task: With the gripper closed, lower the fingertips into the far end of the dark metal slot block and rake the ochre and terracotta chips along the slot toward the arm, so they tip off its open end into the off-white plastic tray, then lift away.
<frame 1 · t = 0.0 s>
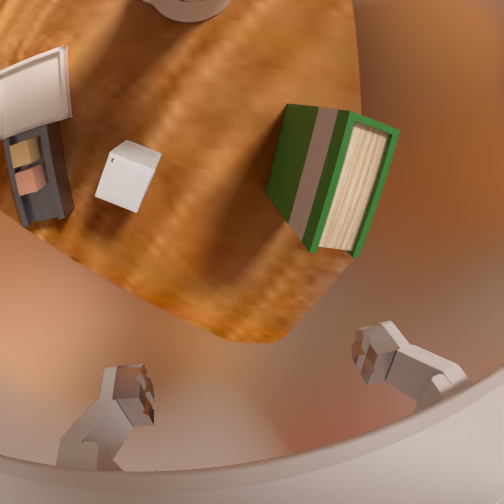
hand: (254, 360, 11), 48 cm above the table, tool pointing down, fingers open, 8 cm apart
hardback book: (294, 152, 56), on the table
tray: (32, 93, 40), on the table
supplement box: (137, 164, 52), on the table
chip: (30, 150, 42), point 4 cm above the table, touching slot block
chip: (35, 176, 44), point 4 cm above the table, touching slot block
slot block: (44, 171, 48), on the table
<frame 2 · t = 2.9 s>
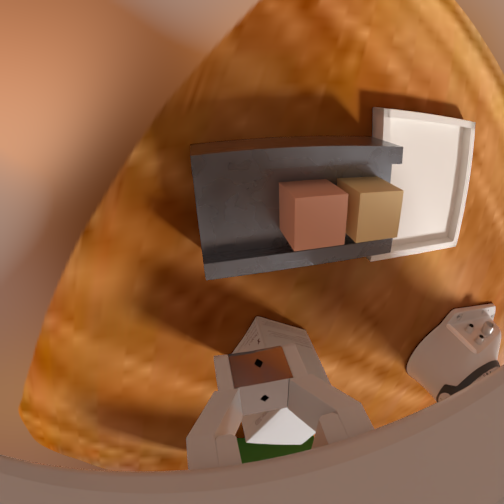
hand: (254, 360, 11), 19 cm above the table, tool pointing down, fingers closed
hardback book: (263, 444, 51), on the table
tray: (419, 182, 31), on the table
supplement box: (266, 342, 38), on the table
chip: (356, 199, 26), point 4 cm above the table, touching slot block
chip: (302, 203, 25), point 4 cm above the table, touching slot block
slot block: (288, 189, 29), on the table
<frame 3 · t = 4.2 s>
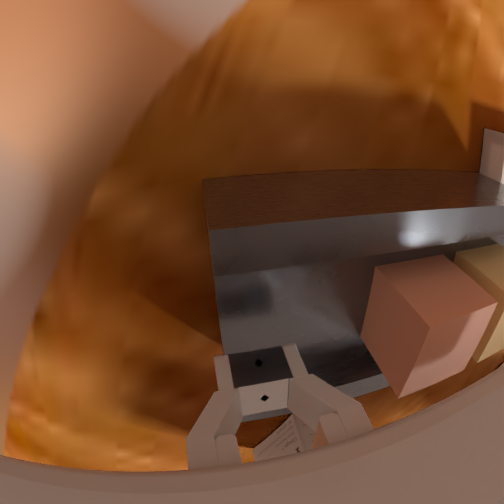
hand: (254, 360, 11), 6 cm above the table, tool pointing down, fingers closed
supplement box: (300, 432, 26), on the table
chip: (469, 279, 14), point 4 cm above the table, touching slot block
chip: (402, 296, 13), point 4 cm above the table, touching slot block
slot block: (365, 256, 17), on the table
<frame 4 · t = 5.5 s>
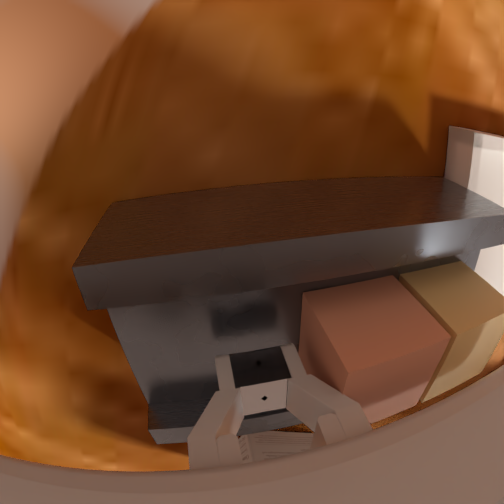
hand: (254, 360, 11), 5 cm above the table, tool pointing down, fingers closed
tray: (490, 242, 18), on the table
supplement box: (261, 446, 25), on the table
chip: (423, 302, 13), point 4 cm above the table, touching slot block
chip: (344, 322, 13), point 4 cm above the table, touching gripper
slot block: (301, 275, 16), on the table
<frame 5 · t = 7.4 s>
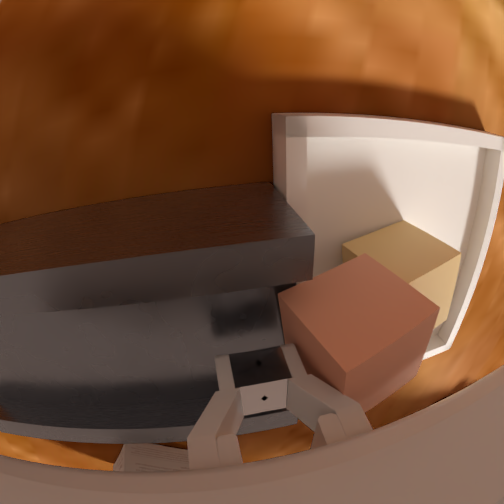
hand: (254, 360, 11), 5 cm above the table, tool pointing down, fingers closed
tray: (389, 260, 17), on the table
supplement box: (154, 457, 23), on the table
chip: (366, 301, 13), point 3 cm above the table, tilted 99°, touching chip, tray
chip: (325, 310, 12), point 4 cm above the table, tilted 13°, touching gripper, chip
slot block: (105, 299, 15), on the table
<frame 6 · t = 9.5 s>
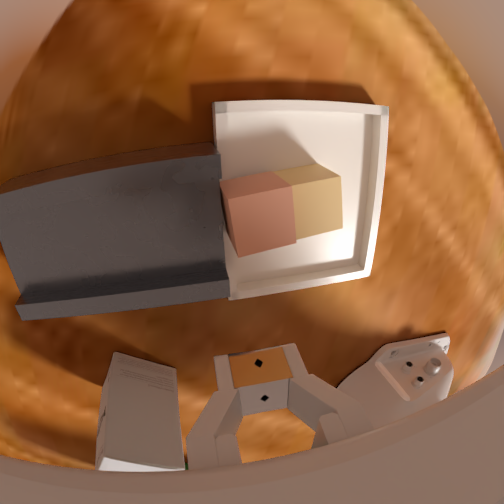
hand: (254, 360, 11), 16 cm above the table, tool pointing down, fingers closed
tray: (300, 195, 26), on the table
supplement box: (136, 377, 32), on the table
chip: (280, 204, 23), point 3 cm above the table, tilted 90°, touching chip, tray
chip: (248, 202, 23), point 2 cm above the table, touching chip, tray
slot block: (110, 218, 23), on the table
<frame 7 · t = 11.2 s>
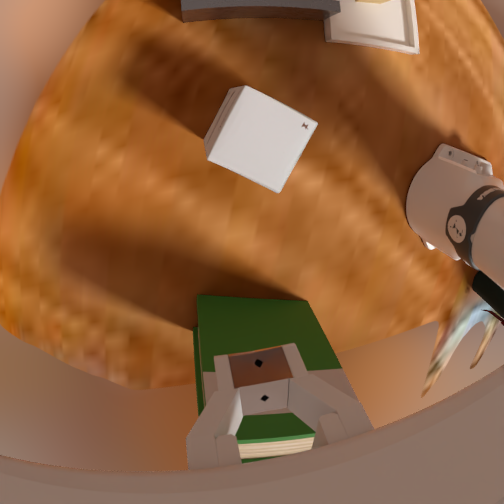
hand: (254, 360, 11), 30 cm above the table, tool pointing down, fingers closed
hardback book: (250, 316, 50), on the table
supplement box: (242, 126, 36), on the table
wine bottle: (480, 281, 59), on the table
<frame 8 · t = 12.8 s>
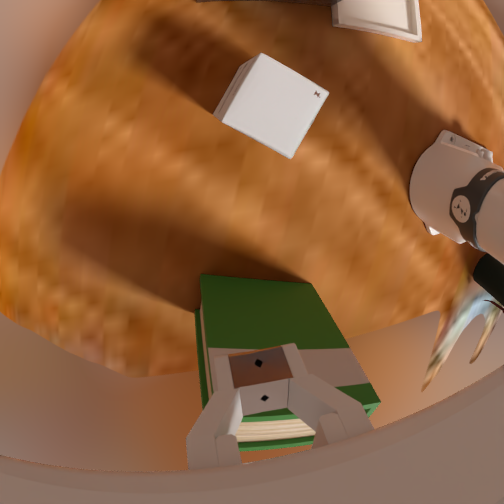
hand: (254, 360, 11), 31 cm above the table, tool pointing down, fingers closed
hardback book: (253, 298, 49), on the table
supplement box: (250, 102, 35), on the table
wine bottle: (481, 271, 59), on the table
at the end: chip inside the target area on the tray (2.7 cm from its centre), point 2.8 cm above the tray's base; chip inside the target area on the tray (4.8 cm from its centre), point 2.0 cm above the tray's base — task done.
